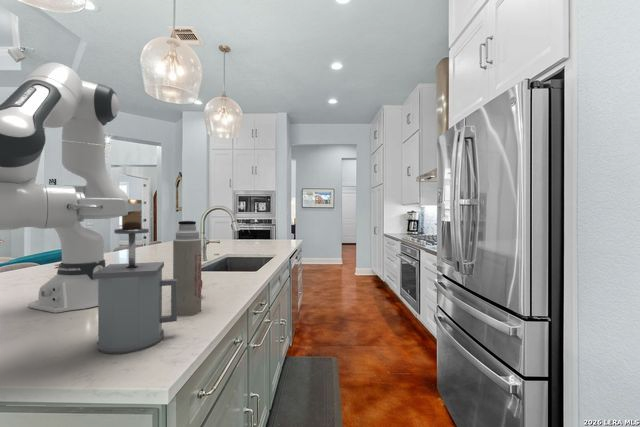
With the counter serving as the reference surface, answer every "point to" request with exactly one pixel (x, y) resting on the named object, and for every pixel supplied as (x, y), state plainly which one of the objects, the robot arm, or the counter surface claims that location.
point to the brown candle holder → (132, 229)
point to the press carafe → (132, 306)
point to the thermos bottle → (187, 268)
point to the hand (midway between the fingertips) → (136, 207)
